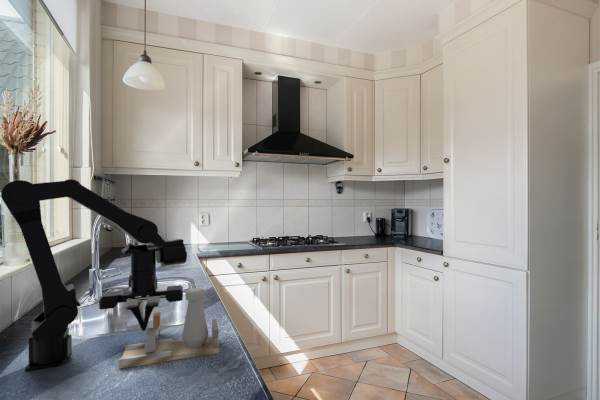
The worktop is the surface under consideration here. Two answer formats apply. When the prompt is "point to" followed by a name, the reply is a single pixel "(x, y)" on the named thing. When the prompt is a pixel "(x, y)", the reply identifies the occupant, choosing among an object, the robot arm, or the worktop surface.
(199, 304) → the salt shaker
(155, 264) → the robot arm
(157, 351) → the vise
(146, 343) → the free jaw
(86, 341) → the worktop surface
